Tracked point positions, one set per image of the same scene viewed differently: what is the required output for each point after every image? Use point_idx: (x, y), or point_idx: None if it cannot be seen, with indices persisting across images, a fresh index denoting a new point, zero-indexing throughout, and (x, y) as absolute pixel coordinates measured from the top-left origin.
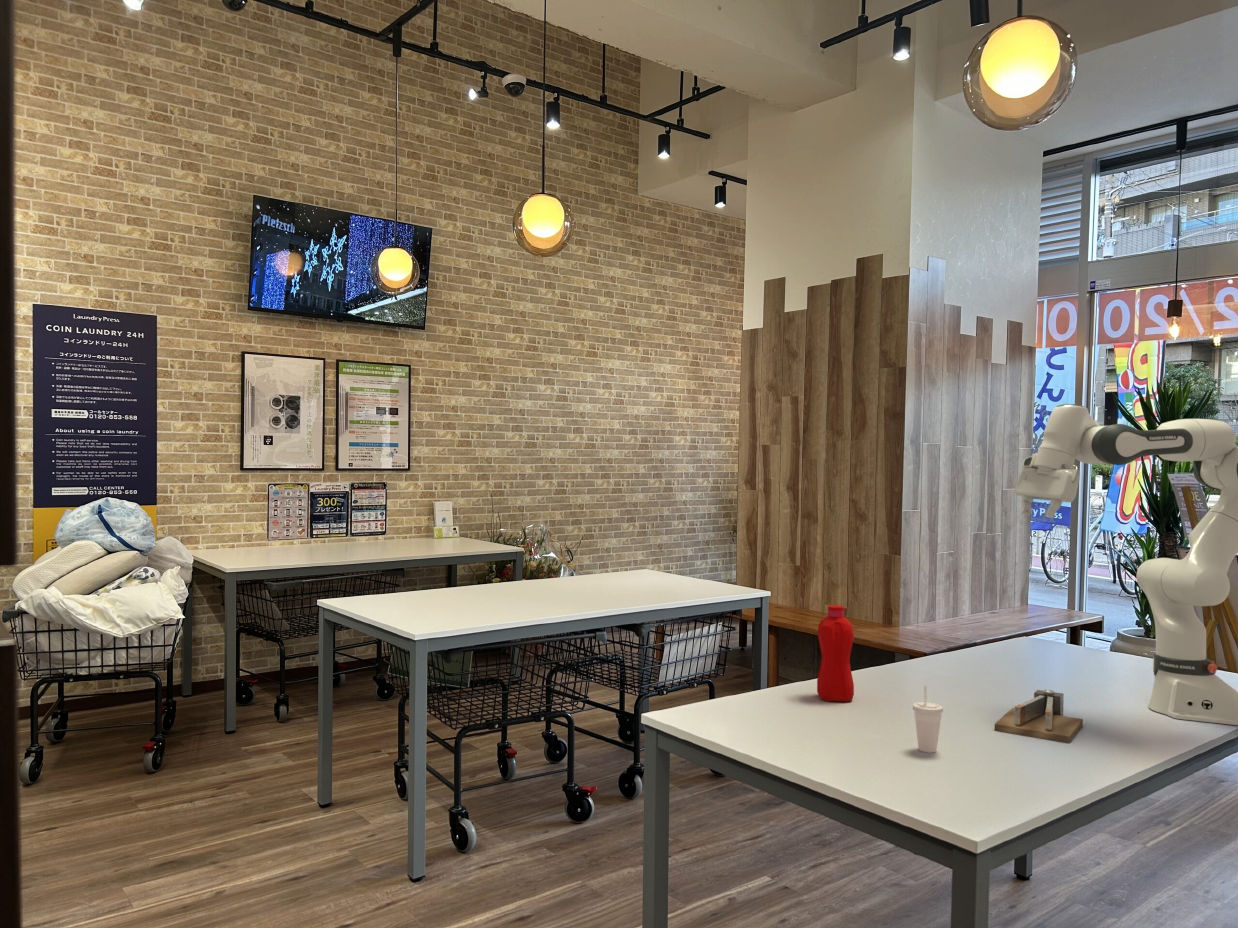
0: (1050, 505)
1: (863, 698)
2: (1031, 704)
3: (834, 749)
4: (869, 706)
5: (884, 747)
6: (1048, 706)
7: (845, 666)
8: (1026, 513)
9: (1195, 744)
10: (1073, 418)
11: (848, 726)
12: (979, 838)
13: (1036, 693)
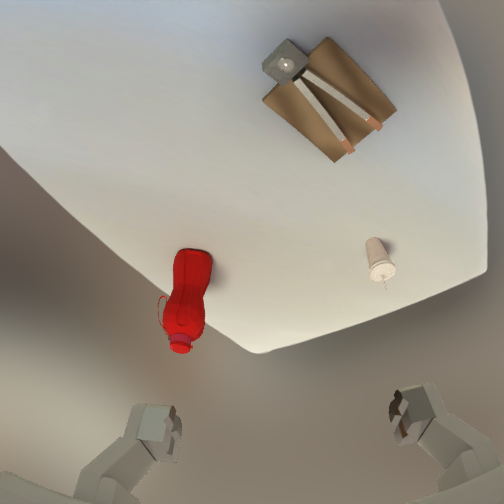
0: (439, 460)
1: (191, 238)
2: (332, 119)
3: (350, 293)
4: (225, 242)
5: (357, 267)
6: (356, 110)
7: (203, 286)
8: (180, 422)
9: None
10: None
11: (295, 274)
12: (486, 269)
13: (285, 84)
